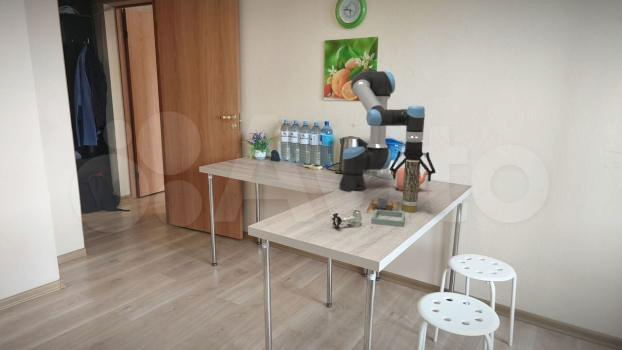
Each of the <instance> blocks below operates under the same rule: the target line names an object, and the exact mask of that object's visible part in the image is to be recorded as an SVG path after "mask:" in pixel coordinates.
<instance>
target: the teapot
mask: <svg viewBox="0 0 622 350" xmlns="http://www.w3.org/2000/svg"><path fill="white" fill-rule="evenodd" d="M404 168H405V167H402V168H401V167H400V168H399V169H398V170H397V171H396V172H398V179H397V187H396V186H395V185H394V187H395V188H396V189H397V191H400V192H403V184H404ZM390 174H391V176H392V177H393V171H390ZM421 174H422V173H420V174H419V187H418V190H419V188H420V187H421V185H422V184H423V183H424V182H426V176H427V174H428V173H427V171H426V170H425V171H424V172H423V174H422V175H421Z"/></svg>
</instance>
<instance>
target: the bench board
mask: <svg viewBox="0 0 622 350" xmlns="http://www.w3.org/2000/svg"><path fill="white" fill-rule="evenodd" d="M373 201H374V199H371V201H370V203H369V204H368V207H367V209H366V211H365V214H372V215H373V214H374V212H375V210H372V203H373ZM400 204H401V202H399V201H393V209H392V211H397V212H399V208H400Z"/></svg>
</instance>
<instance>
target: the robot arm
mask: <svg viewBox="0 0 622 350" xmlns="http://www.w3.org/2000/svg"><path fill="white" fill-rule="evenodd" d="M395 89H396V80H395V76H394V75H393V74H392V72H390V71H386V70H385V71H384V70H383V71H382V70H380V71H378V70H377V71H374V70H363V71H360V72H358V73H357V74H355V75H354V76H353V78H352V79H351V82H350V90H351V92H352V93H353V95H354V96H355V97H357V98H358V99H359V101H360V103H361V104H362V106H363V108H364V109H365V111H366V119H365V120H366V123H367V125H368V126H370V130H369V131H370V133H369V143H368V144H367V145H366V149H365V147H364V146H352V147H347V148H345V149H344V151H343V155H342V175H341V179H340V182H339V187H338V188H339V189H340V190H342V191H345V192H364V191H365V190H366V189H367V183H366V181H365V177H364V172H365V171H373V170H374V171H381V170H386V169H388V168H389V167H390V168H389V171H390V172H391V171H393V176H392V179H393V180H394V187H395V186H396V187H397V179H398V172H396V171H397V170H399V169H401V167H403V165H405V162H406V160H419V163H420V166H422V168H424V170H425V171H427V175H426V178H425V189H427V190H428V184H429V182H431V180H432V175H433V174H436V169H435V167H434V165H433V163H432V160H431V158H430V152H429V151H428V152H423V145H424V144H423V140H424V129H425V127H424V126H425V116H426V113H425V112H426V111H425V106H422V105H421V106H420V105H409V106H408V107H407V108H400V109H391V108H390V109H388V100H389V99H391V95H392V94H393V93H394V92H395ZM400 126H401V127H406V130H405V143H404V145H405V146H404V151H401V150H398V151H397V154H396V157H395V159H394V160H393V162H392V152H391V150H390V148H389V146H388V145H387V143H386V137H387V135H386V134H387V127H400ZM402 156H404V159H403V160H401V162H400V163H399V164H398V165H397V162H398V161H399V159H400V157H402ZM423 156H424V158H426V160H427V163H428V165H429V167H428V166H427V165H426V163H425V162H424V160H422V157H423ZM391 162H392V163H391ZM390 164H391V166H390ZM396 165H397V166H396ZM429 168H430V169H431V170H430V169H429ZM396 187H395V188H396Z"/></svg>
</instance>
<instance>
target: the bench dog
mask: <svg viewBox="0 0 622 350" xmlns="http://www.w3.org/2000/svg"><path fill="white" fill-rule="evenodd" d="M376 200H377V210H387V201H388V199H387V198H378V199H376Z"/></svg>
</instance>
